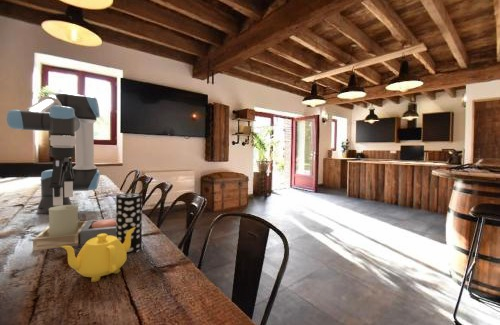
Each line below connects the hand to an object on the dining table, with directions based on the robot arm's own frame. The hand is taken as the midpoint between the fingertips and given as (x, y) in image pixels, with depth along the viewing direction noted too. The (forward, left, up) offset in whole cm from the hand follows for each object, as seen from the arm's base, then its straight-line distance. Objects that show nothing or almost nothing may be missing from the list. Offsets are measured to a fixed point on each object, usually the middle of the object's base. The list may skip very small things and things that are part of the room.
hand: (63, 200), depth 93 cm
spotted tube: (+19, +24, -15) cm, 34 cm away
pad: (+1, +14, -12) cm, 19 cm away
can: (0, 0, -14) cm, 14 cm away
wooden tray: (0, 0, -15) cm, 15 cm away
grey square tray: (+1, +14, -15) cm, 21 cm away
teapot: (+34, +18, -15) cm, 42 cm away
